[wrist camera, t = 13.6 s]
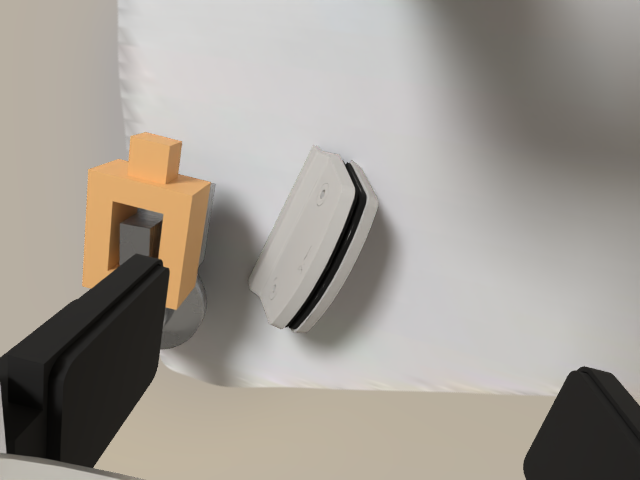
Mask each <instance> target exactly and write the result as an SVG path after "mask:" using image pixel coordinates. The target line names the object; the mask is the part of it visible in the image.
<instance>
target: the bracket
mask: <svg viewBox="0 0 640 480" xmlns="http://www.w3.org/2000/svg"><path fill="white" fill-rule="evenodd" d="M181 147H182V141H178V140H174V139H170V138H167V137H163V136H159V135H155V134H151V133H147V132H145V133H141V134H137V135H133V136H131V138H130V150H129V161H125V160H121V159H117V160H114V161H111V162H108V163H106V164H103V165H100V166H97V167H94V168H91V169H89V170H88V189H87V207H86V226H85V245H84V263H83V282H82V283H83V284H82V286H83V287H87V288H93V287H94V286H95V285H96V284H98V283H99V282H100V281H101V280H103V279H104V278H105V277H107V276H108V275H109V274H110V273H112V272H113V271H114V270H115V269H117V268H118V267H119V266H120V265H119V261H120V223H121V222H123V221H124V220H126V219H128V218H129V217H131V216H132V215H134V214H136V213H137V209H138V208H142V209H146V210H150V211H154V212H158V213H162V214H163V223H162V231H161V240H160V248H159V257H158V259H161V260H162V261H163V267H167V268H169V270H170V276H169V284H168V292H167V299H166V308H170V309H174V310H177V309H178V308H179V306H180V305H181V304H182V302H183V301H184V300H185V299H186V297H187V296H188V295H189V294H190V292H191V291H192V290H193V288H194V287H195V284H196V278H197V271H198V265H199V258H200V252H201V245H202V239H203V232H204V225H205V219H206V212H207V206H208V199H209V193H210V186H211V182H208V181H204V180H200V179H196V178H192V177H188V176H184V175H180V174H178V171H179V163H180V155H181Z"/></svg>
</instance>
